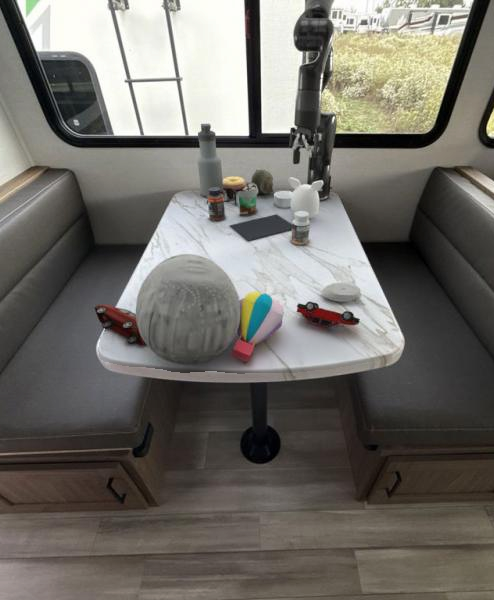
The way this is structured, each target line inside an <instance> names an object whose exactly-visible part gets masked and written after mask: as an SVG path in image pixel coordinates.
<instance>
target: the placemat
mask: <svg viewBox="0 0 494 600" xmlns="http://www.w3.org/2000/svg"><path fill="white" fill-rule="evenodd" d="M229 227H230V228H232V229H233V230H234V231H235V232H236V233H237V234H239V235H240V236H241V237H242V238H244V239H245V240H246V241H247V242H251V241H254V240H258V239H263V238H267V237H270V236H274V235H277V234H280V233H281V234H282V233H284V232H289V231H292V223H290V222H289V221H287V220H286V219H284V218H283V217H282V216H279V215H278V214H273V215H267V216H264V217H260V218H255V219H251V220H247V221H242V222H238V223H233V224H230V225H229Z"/></svg>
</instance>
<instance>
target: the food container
mask: <svg viewBox="0 0 494 600" xmlns="http://www.w3.org/2000/svg"><path fill="white" fill-rule="evenodd" d="M258 194H259V193H258V187H257V185H256V184H254V183H251V182H250V181H246V182H245V186H244V187H243V188H242V189H240V190H237V197H238V206H239V216H240V217H248V216H252V215H254V214H256V212H257V195H258Z"/></svg>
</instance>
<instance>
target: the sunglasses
mask: <svg viewBox="0 0 494 600" xmlns="http://www.w3.org/2000/svg"><path fill="white" fill-rule="evenodd" d="M220 193H221V194H222V195H224V194H226V198H228V199H226V200H224V203H227V204H228V203H230V202H234V204H235V205H237V190H234V189H232V188H228V189H227V190H226V189H224V190H223V191H222V192H220ZM206 204H207V205H208V199H207V198H206Z"/></svg>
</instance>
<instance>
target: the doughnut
mask: <svg viewBox="0 0 494 600" xmlns="http://www.w3.org/2000/svg"><path fill="white" fill-rule="evenodd" d="M222 181H223V190H227V189H228V188H232V189H234V190H235V191H241V190H242V188H243V187H244V186H245V185H246V182H245V179H244V178H243V177H240V176H228V177H224V178H222Z"/></svg>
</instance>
